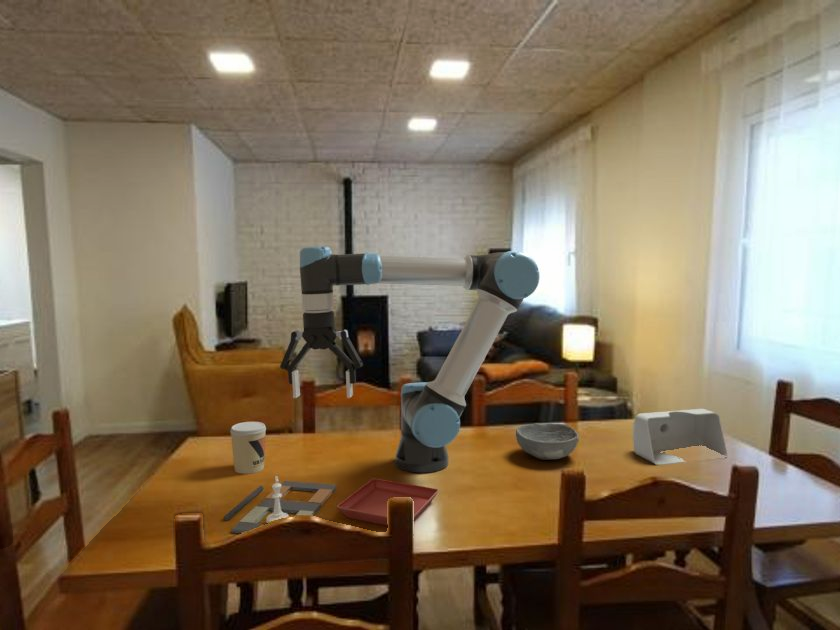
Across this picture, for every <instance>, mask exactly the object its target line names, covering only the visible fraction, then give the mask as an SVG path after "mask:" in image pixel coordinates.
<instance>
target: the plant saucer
mask: <svg viewBox="0 0 840 630" xmlns="http://www.w3.org/2000/svg"><path fill="white" fill-rule="evenodd" d="M438 493H439V489H438V488H435V487H429V486H423V485H417V484H410V483H404V482H398V481H393V480H386V479H381V478H371V479H370V480H368V481H367V482H366V483H364V484H363V485H362V486H360V487H359V488H358V489H357V490H356V491H354V492H352V493H351V494H350V495H349V496H348V497H346V498H345V499H344V500H342V501H341V502H340V503H338V504H337V506H336V508H337V509H338V510H339V511H340V512H341V513H342V514H343V515H345V516H346V517H348V518H350V519H355V520H360V521H365V522H368V523H374V524H378V525H385V526H388V525H387V501H388V499H390V498H393V497H411V498H412V499H413V501H414V520H416V518H418V516H419V515H420V514H421V513H422V512H423V511H424V510H425V509H426V508H427V506H428V505H429V504H431V502H433V500H434V499H435V497H436V496H437V495H438Z"/></svg>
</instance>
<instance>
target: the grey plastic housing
mask: <svg viewBox="0 0 840 630" xmlns="http://www.w3.org/2000/svg"><path fill="white" fill-rule="evenodd" d="M632 445H633V451H634V454H636V455H637V456H639V457H641V458H643V459H645V460H646V461H648V462H650V463H652V464H654V465H656V466H662V465H663V466H664V465H673V464H681V463H680V462H684V463H687V462H686V461H684V460H683V459H682V458H680V457H679V458H680V459H679V458H678V457H677V456H674V455H669V454H666V453H665V452H663V453H660V452H661V451H666V450H674V449H679V448H686V447H691V446H699V445H700V446H701V445H702V446H706V447H707V448H709V449H711V450H714V451H716V452H718V453H720V454H721V455H724V456H728V450H727V446H726V440H725V436H724V431H723V428H722V423H721V418H720V415H719V414H718V413H717V412H715V411H711V410H708V409H705V408H694V409H681V410H680V409H679V410H669V411H668V410H667V411H654V412H643V413H638V414H637V415H636V416H635V418H634V420H633V422H632Z"/></svg>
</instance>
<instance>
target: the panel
mask: <svg viewBox="0 0 840 630" xmlns="http://www.w3.org/2000/svg"><path fill="white" fill-rule="evenodd" d="M280 484H281V489H280V492H279V493H281V494H282V497H280V498H279V499H280V506H281V511H282V512H284V513H287V514H295V516H296V515H314V516H315V515H316V514H317V512H319V510H320V509H321V507H323V505H324V504H325V503H326V501H328V499H329V498H330V497H331V496H332V494H333V493H334V492H335V490H337V484H332V483H331V484H330V483H329V484H328V483H318V482H315V483H314V482H307V481H306V482H305V481H292V480H291V481H290V480H283V482H282V483H280ZM291 491H301V492H312V493H314V494H313V495H312V497H311V498H310V499H309V500H308V501H300V500H299V501H298V500H287V499H284V498H285V497H286V495H288V494H289V493H290V492H291ZM273 494H275V493H274V490H273V489H272V491H271V492H270V493H269V494H268V495H267V496H265V498H264V499H263V500H262V501H261V502H259V503H258V504H257V505H256V506H255V507H253V508H252V509H251V510H250V511H249V512H248V513H247V514H246V515H245V516H244V517H243V518H242V519H240V520H239V521H238V522H237V524H236V525H234V526H233V527H232V528H231V534H240V533H242V532H245V531H249V530H252V529H254V528H257V527H259V526H261V525H264V524H265V523H264V524H263V523H259V522H260V521H261V520H262V519H263V518H264V517H265V516H267V514H268V513H270V512H272V513H273V512H274V504H275V498H273V497H272V495H273ZM295 516H294V517H295Z"/></svg>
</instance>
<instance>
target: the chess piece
mask: <svg viewBox="0 0 840 630" xmlns="http://www.w3.org/2000/svg"><path fill="white" fill-rule="evenodd" d="M274 477H275V478H274V481H275V482H274V483H273V484H271V487H272V491H273V490H274V493H275V494H273V495H272V497H273V498H275V504H274V512H272V513H270V514H268V515H266V518H265V519H266V520H265V522H266V524H267V523H268V522H271V521H274V520H278V519H281V518H286V517H289V518H290V516H289V513H284V512H282V511H281V506H280V499H279V498H280V497H282V494H281V493H279V492H280V489H281V484H282V483H280V482H279V477H278V475H275V476H274Z"/></svg>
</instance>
